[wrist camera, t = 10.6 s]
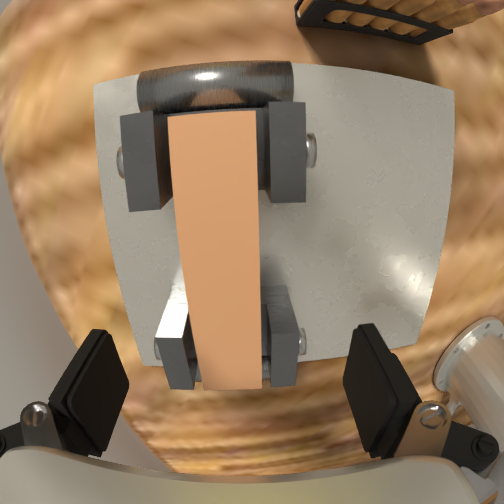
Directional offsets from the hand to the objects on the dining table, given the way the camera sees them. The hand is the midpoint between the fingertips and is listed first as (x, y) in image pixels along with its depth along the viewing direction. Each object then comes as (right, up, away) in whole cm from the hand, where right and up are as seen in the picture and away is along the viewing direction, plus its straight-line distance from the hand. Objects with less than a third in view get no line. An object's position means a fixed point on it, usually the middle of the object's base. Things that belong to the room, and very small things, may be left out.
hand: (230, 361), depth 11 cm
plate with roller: (+4, +6, +12) cm, 14 cm away
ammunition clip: (+9, +22, +6) cm, 24 cm away
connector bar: (-1, +4, +9) cm, 10 cm away
